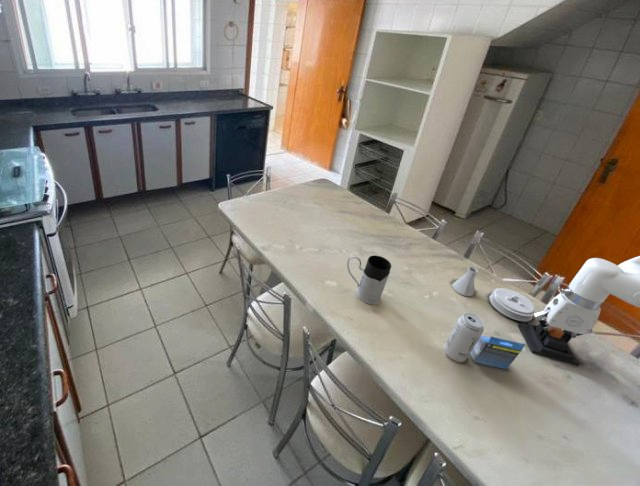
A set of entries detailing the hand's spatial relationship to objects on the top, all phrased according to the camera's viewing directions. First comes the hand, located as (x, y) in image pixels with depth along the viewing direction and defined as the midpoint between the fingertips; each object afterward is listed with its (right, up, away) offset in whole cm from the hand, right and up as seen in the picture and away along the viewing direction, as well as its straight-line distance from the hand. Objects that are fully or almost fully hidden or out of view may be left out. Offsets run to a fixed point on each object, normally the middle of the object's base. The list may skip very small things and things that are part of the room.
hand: (550, 338), depth 103 cm
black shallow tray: (0, -2, +1) cm, 3 cm away
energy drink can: (-34, -3, -5) cm, 34 cm away
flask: (-13, +9, +21) cm, 26 cm away
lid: (-2, +4, +14) cm, 15 cm away
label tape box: (-25, -4, -6) cm, 26 cm away
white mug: (-54, +10, +16) cm, 57 cm away
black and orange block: (0, 0, 0) cm, 0 cm away
